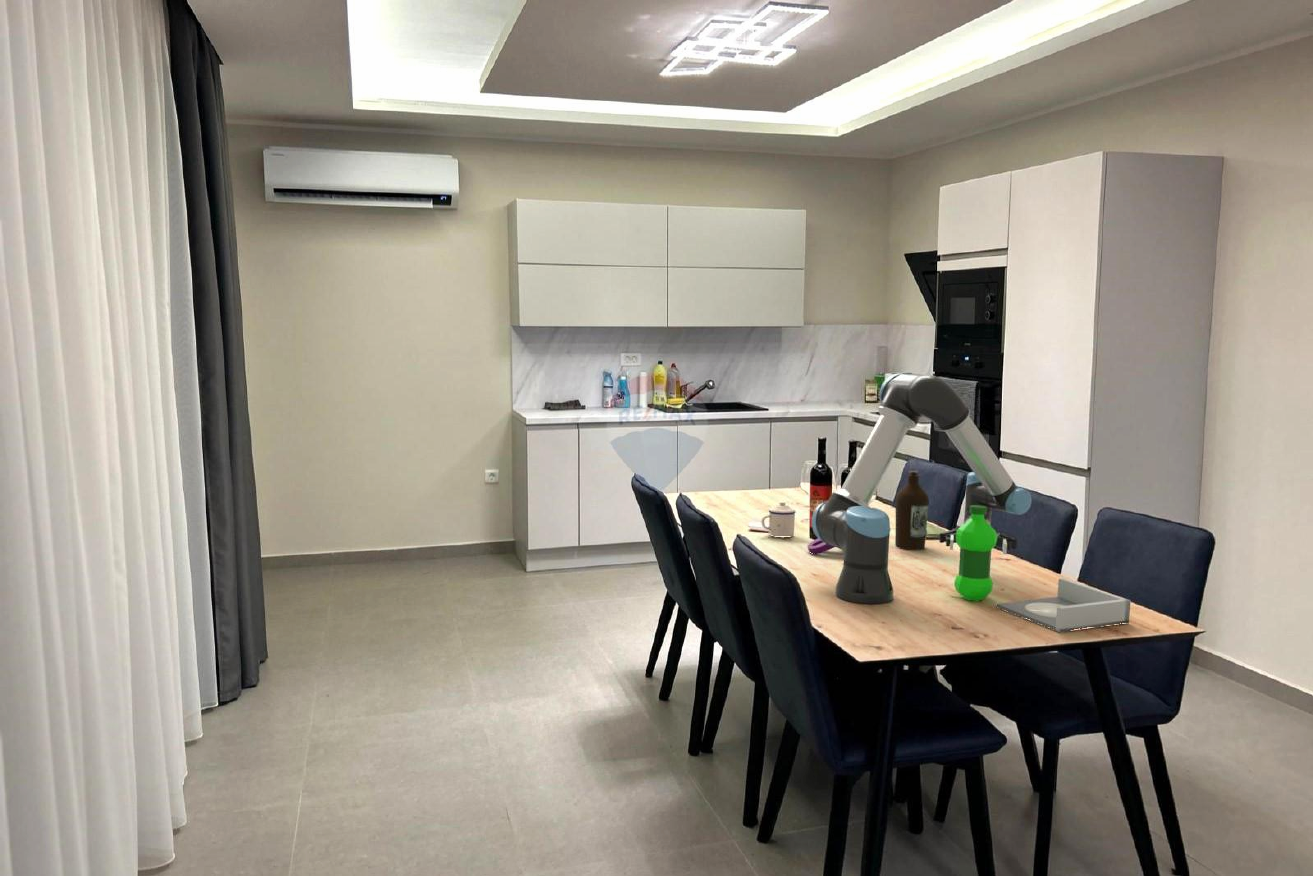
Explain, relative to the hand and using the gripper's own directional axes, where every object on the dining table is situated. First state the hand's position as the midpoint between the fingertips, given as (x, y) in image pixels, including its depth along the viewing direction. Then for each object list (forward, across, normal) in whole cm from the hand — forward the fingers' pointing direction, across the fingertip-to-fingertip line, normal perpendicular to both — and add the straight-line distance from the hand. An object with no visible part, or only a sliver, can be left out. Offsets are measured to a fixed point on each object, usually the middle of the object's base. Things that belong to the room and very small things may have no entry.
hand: (978, 547), depth 260 cm
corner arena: (+9, -21, -14) cm, 26 cm away
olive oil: (-56, +20, -14) cm, 61 cm away
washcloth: (-78, +17, -14) cm, 81 cm away
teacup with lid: (-56, +64, -14) cm, 86 cm away
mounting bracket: (-38, +42, -14) cm, 58 cm away
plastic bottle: (+1, +1, -14) cm, 14 cm away
